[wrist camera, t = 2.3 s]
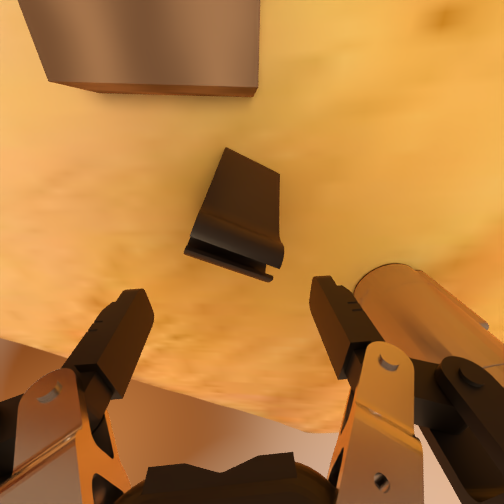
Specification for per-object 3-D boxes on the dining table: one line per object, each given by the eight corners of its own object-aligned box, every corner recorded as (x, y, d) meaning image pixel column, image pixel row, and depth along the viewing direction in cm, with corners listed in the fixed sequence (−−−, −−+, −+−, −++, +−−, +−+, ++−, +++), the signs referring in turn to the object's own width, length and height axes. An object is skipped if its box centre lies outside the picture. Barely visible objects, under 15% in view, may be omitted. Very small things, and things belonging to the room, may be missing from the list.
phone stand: (226, 146, 21) (214, 167, 10) (279, 173, 22) (315, 215, 12) (197, 224, 25) (167, 295, 14) (243, 242, 26) (247, 318, 16)
